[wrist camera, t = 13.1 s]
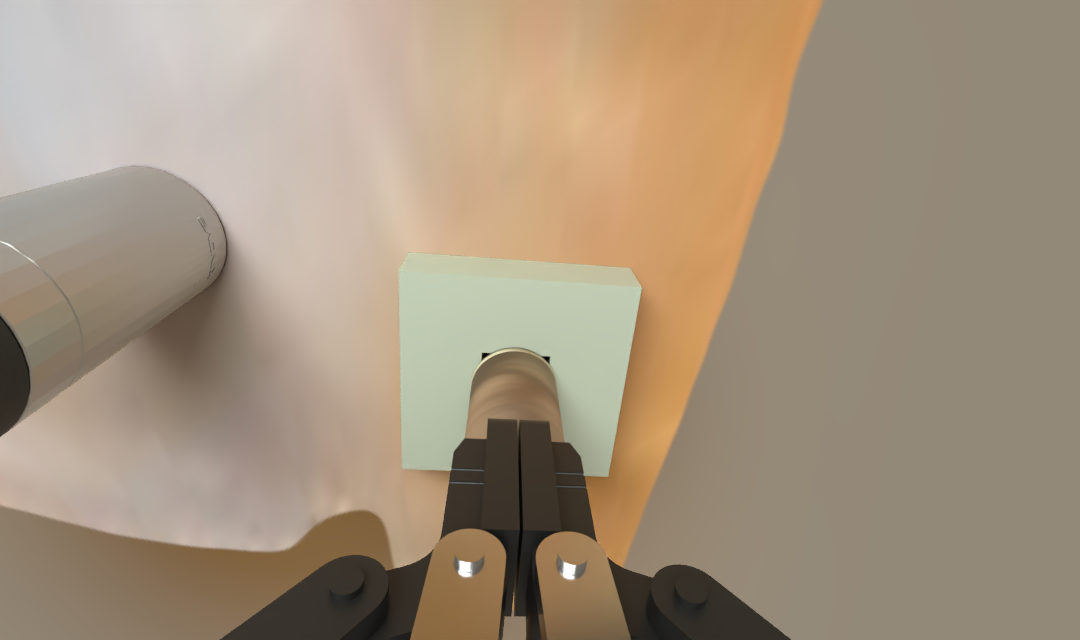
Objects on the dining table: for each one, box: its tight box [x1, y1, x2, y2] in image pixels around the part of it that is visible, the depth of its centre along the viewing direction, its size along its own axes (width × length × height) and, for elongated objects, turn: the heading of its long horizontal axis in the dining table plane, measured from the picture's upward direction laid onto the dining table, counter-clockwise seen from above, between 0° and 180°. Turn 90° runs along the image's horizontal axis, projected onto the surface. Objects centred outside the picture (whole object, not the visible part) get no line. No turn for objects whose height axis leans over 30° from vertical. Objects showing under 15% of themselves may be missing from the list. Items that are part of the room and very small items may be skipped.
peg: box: [465, 347, 564, 442], centre depth 37 cm, size 6×6×12 cm
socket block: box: [399, 252, 642, 477], centre depth 41 cm, size 16×16×4 cm
